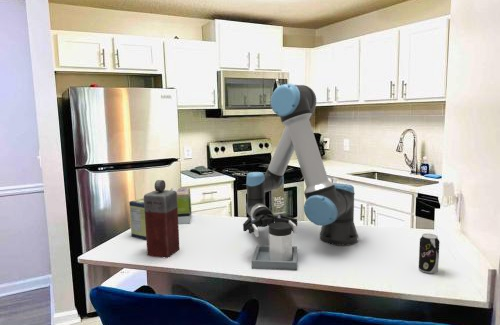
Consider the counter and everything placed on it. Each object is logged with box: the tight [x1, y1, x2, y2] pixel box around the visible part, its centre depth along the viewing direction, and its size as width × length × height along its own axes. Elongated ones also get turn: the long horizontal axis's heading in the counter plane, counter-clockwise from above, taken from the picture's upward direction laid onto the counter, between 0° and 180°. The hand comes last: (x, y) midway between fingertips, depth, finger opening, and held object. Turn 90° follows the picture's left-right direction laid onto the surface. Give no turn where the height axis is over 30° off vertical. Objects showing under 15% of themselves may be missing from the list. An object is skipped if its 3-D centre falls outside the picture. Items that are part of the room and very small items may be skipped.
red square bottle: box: [143, 179, 180, 259], centre depth 141 cm, size 9×11×28 cm
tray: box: [251, 244, 298, 271], centre depth 133 cm, size 15×15×3 cm
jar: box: [267, 222, 293, 261], centre depth 133 cm, size 9×8×12 cm
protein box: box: [128, 197, 146, 241], centre depth 164 cm, size 10×16×16 cm
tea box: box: [170, 187, 193, 225], centre depth 184 cm, size 15×10×15 cm
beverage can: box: [418, 232, 441, 275], centre depth 121 cm, size 6×6×12 cm
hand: (276, 231), depth 129 cm, fingers open, 13 cm apart
